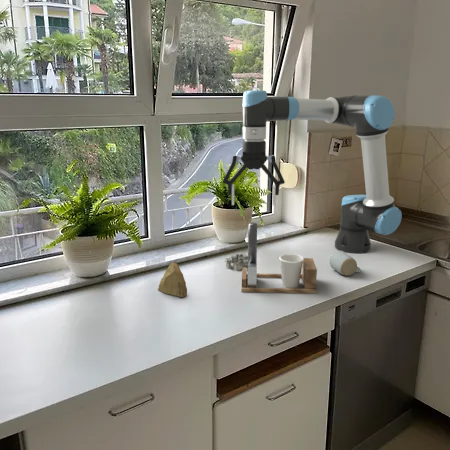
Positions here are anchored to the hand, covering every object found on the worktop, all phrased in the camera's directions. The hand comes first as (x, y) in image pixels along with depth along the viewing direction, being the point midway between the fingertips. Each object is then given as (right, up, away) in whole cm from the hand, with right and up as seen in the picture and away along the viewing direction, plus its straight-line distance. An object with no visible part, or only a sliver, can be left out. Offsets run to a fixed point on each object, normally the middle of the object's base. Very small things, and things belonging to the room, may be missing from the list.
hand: (253, 204), depth 155 cm
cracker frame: (+9, -28, +7) cm, 30 cm away
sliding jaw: (0, -28, +8) cm, 29 cm away
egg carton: (-4, -23, +26) cm, 35 cm away
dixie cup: (+13, -28, +7) cm, 32 cm away
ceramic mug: (+36, -25, +18) cm, 47 cm away
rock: (-27, -30, +1) cm, 40 cm away
